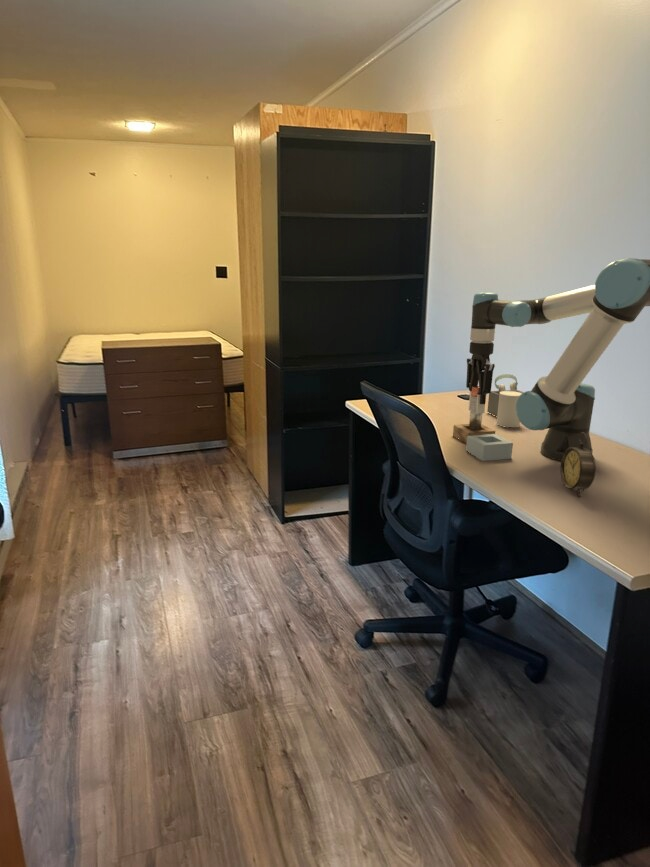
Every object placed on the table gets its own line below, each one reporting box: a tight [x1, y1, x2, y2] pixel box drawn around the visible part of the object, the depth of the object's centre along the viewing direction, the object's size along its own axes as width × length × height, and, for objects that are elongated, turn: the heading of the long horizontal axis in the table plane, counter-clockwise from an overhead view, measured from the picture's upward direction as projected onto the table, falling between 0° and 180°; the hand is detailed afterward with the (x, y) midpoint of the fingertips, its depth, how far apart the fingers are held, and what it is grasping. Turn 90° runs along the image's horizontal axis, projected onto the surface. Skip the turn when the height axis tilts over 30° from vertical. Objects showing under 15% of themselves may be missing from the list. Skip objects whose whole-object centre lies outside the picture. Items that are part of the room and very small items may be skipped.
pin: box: [468, 385, 483, 430], centre depth 198 cm, size 4×4×14 cm
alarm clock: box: [559, 432, 597, 498], centre depth 154 cm, size 11×5×16 cm, turn 3°
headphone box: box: [487, 389, 525, 416], centre depth 232 cm, size 8×12×9 cm
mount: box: [452, 423, 496, 445], centre depth 200 cm, size 10×10×4 cm
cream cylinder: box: [496, 391, 522, 428], centre depth 217 cm, size 8×8×12 cm
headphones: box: [494, 373, 519, 392], centre depth 228 cm, size 8×4×20 cm
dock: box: [465, 433, 514, 462], centre depth 184 cm, size 10×10×5 cm
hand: (476, 411), depth 198 cm, fingers closed on pin, 4 cm apart
